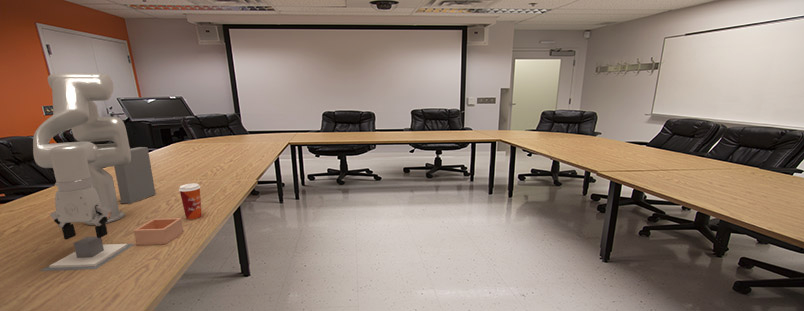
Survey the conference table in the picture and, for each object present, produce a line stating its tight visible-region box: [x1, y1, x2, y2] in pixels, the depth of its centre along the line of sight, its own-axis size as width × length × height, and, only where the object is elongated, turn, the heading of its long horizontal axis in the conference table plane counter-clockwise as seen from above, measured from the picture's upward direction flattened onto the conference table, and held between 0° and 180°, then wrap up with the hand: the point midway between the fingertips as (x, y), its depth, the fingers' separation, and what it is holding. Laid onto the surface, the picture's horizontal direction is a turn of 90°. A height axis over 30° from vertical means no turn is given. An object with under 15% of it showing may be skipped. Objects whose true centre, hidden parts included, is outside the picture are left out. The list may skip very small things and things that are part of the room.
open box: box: [133, 217, 185, 246], centre depth 116 cm, size 10×10×6 cm
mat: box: [39, 243, 136, 272], centre depth 104 cm, size 16×16×1 cm
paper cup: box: [178, 182, 203, 220], centre depth 136 cm, size 8×8×14 cm
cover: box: [48, 236, 128, 268], centre depth 104 cm, size 13×13×6 cm
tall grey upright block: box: [113, 146, 157, 205], centre depth 158 cm, size 14×6×25 cm, turn 172°
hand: (86, 236), depth 102 cm, fingers open, 9 cm apart
